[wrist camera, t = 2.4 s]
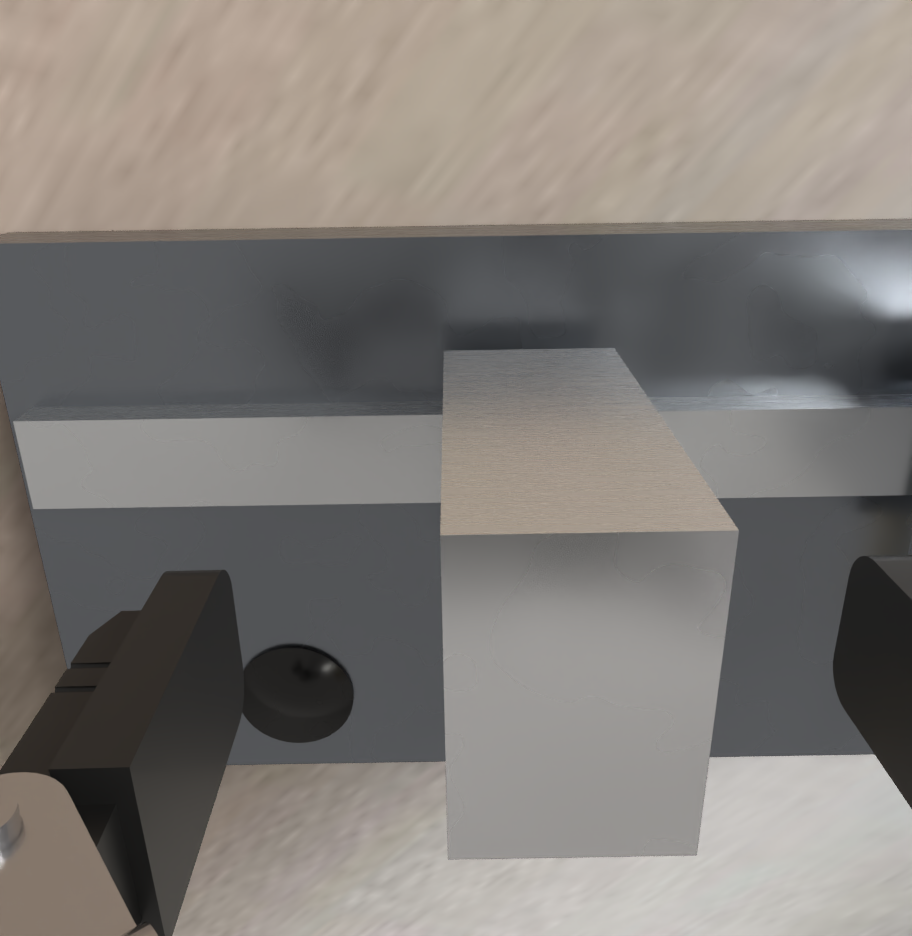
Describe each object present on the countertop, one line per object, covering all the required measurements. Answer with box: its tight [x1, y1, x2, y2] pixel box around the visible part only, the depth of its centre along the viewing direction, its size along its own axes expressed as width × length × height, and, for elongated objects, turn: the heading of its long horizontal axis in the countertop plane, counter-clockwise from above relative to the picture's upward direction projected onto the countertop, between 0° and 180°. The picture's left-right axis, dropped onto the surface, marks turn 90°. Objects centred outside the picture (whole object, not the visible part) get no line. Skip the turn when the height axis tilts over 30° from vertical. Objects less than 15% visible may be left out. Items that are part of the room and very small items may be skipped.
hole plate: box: [0, 219, 912, 765], centre depth 18 cm, size 22×12×2 cm, turn 91°
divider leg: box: [440, 348, 739, 860], centre depth 13 cm, size 3×8×7 cm, turn 1°
